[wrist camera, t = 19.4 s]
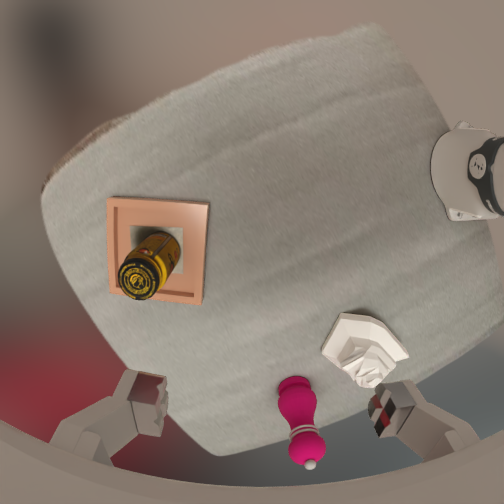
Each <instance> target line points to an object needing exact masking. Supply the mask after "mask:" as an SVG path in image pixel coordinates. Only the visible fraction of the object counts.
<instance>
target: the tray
mask: <svg viewBox="0 0 504 504" xmlns="http://www.w3.org/2000/svg"><path fill="white" fill-rule="evenodd" d="M209 205H210V203H206V202H194V201H182V200H168V199H154V198H138V197H120V196H113V197H109V198H107V255H108V274H109V287H110V293H112V294H118V295H125V296H127V295H126V294H125V293H124V292H123V291H122V289H121V288H120V286H119V283H118V271H119V269H120V266H121V265H122V263H124V260H125V258H126V256H127V255H128V254H129V253H130V252H131V240H130V226H149V227H154V226H155V227H180V228H183V274H177V273H171V274H170V276H169V277H168V279H167V281H166V283H165V284H164V286H163V287H162V288H161V289H160V290H158V291H157V292H156V293H155V294H154V295H153V296H152V297H151V298H148V299H153V300H161V301H169V302H177V303H185V304H194V305H201V304H202V301H203V292H204V274H205V258H206V243H207V229H208V217H209Z"/></svg>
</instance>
